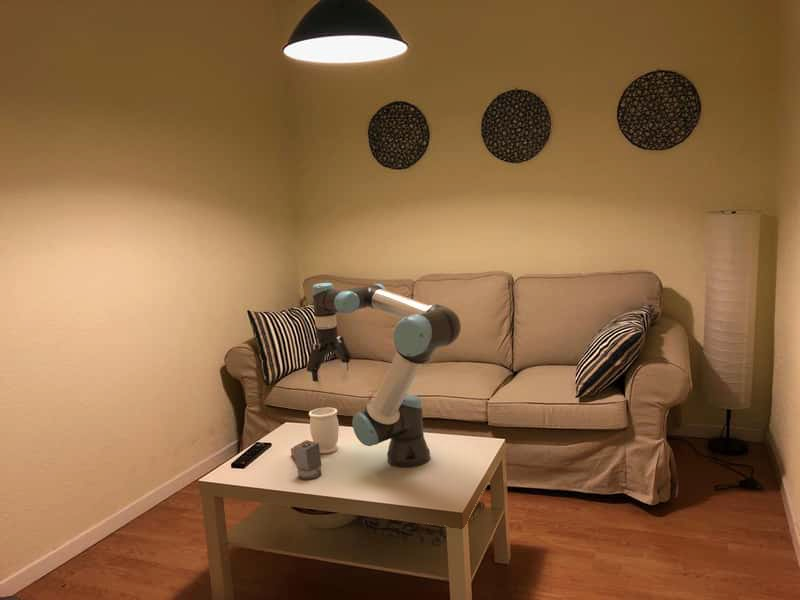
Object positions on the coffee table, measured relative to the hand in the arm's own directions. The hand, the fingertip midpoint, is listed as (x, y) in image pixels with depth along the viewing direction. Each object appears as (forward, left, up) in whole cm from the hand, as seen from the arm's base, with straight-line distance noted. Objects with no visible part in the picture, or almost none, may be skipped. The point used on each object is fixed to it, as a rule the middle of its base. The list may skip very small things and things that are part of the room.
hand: (331, 384), depth 247 cm
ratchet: (+4, +14, -27) cm, 30 cm away
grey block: (-4, +18, -24) cm, 30 cm away
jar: (+8, -2, -27) cm, 28 cm away
